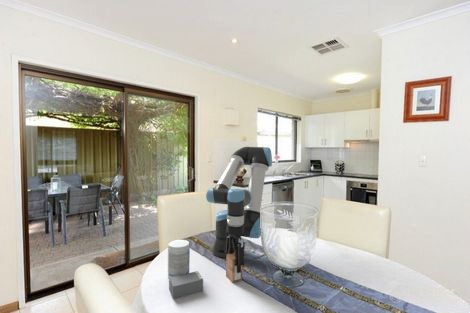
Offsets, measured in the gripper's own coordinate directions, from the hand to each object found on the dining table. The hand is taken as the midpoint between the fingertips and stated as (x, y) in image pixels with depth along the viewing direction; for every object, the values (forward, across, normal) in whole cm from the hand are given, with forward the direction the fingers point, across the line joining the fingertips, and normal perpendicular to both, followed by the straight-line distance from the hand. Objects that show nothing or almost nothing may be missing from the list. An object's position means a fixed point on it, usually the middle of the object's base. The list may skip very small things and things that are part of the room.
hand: (233, 275), depth 106 cm
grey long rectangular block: (+1, 0, -22) cm, 22 cm away
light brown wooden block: (+1, 0, 0) cm, 1 cm away
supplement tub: (+2, -13, -22) cm, 25 cm away
